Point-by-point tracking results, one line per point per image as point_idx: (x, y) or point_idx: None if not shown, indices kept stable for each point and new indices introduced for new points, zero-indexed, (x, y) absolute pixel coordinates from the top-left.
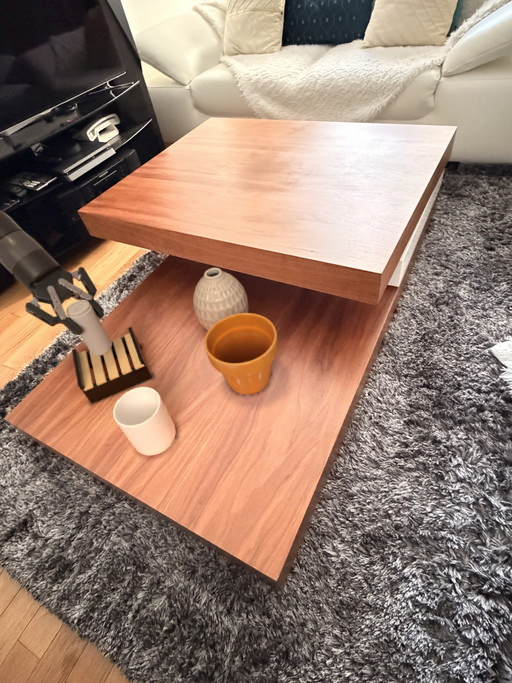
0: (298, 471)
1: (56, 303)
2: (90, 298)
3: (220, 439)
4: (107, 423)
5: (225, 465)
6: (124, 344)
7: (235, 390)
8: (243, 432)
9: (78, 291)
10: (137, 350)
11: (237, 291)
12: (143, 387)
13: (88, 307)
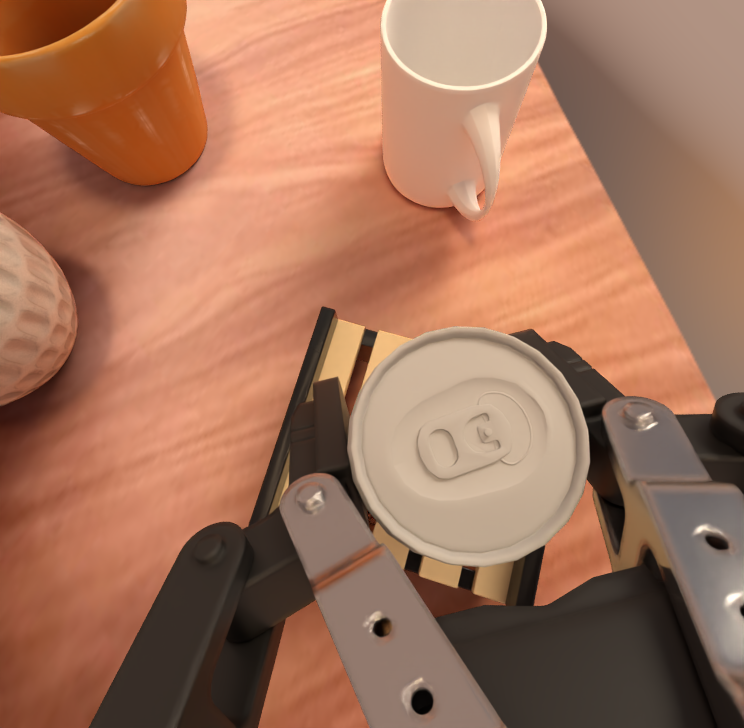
0: None
1: (721, 517)
2: (309, 484)
3: (327, 60)
4: (523, 290)
5: (359, 12)
6: None
7: (205, 118)
8: (278, 41)
9: (365, 569)
10: (311, 362)
11: None
12: (405, 68)
13: (388, 357)
